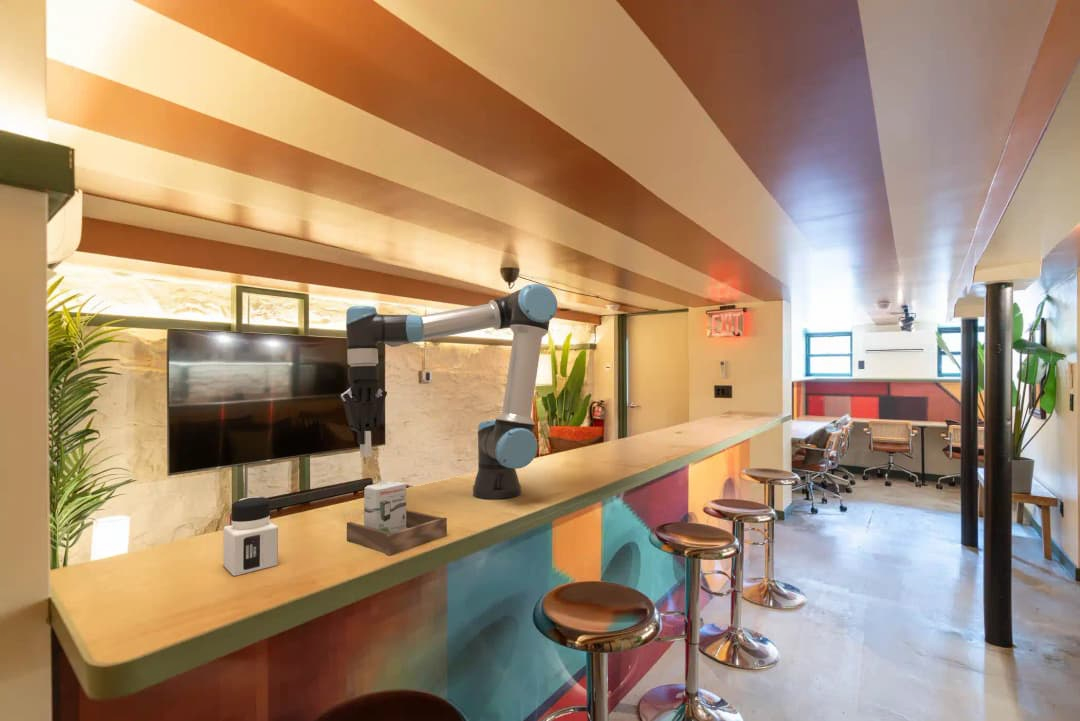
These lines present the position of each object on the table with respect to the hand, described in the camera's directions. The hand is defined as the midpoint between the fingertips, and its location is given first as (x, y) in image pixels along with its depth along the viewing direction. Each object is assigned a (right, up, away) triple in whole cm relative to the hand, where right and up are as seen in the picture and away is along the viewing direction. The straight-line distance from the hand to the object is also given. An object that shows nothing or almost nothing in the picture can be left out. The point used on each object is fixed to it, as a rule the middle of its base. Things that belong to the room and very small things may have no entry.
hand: (365, 456), depth 128 cm
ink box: (+9, -16, -13) cm, 23 cm away
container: (-12, -16, -31) cm, 37 cm away
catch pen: (+12, -16, -15) cm, 25 cm away
